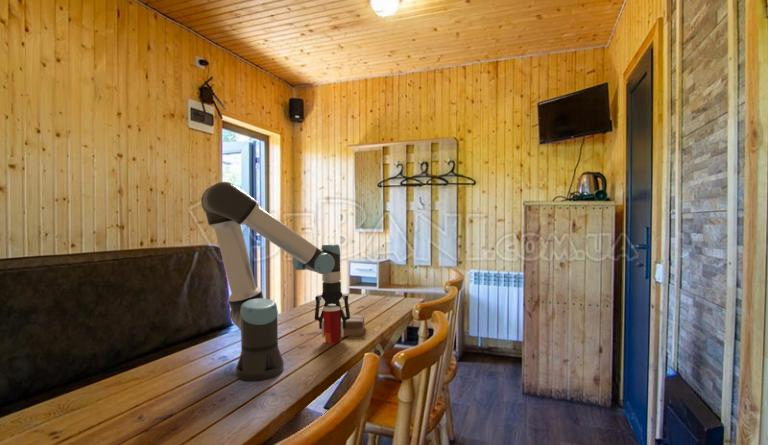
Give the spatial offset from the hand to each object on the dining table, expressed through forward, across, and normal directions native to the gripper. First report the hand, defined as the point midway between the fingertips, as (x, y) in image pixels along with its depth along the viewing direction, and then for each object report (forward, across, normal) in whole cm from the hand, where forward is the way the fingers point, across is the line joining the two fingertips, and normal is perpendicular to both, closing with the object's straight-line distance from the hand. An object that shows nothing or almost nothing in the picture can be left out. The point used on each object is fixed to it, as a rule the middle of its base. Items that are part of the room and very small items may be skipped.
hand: (332, 336), depth 151 cm
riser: (+2, -6, -13) cm, 14 cm away
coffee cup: (+2, 0, 0) cm, 2 cm away
